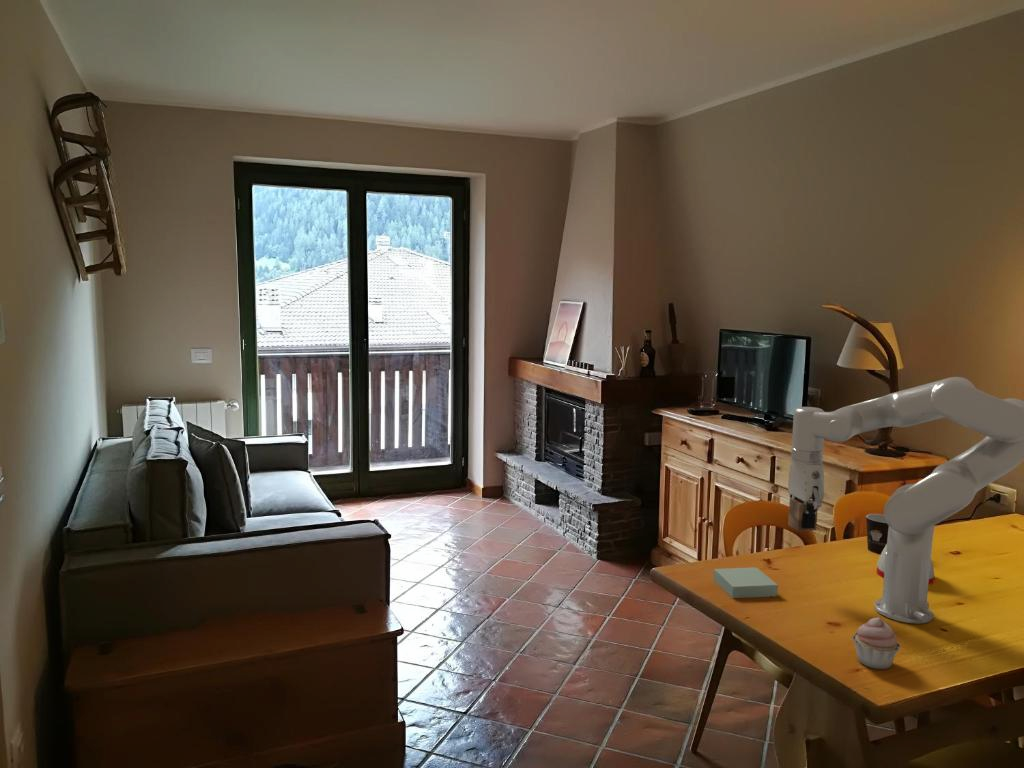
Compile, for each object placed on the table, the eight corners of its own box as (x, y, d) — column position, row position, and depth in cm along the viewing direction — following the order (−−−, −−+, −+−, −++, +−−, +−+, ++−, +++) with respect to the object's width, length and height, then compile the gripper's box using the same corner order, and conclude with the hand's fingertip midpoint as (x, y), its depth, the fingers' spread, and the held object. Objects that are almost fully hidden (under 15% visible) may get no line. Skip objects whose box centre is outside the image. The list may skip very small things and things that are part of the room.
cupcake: (884, 678, 151) (889, 631, 150) (841, 659, 159) (844, 614, 157) (908, 665, 157) (912, 620, 155) (865, 648, 164) (868, 604, 163)
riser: (777, 596, 191) (777, 584, 191) (732, 598, 189) (732, 586, 189) (755, 578, 203) (756, 567, 202) (713, 579, 201) (713, 569, 201)
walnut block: (816, 530, 192) (817, 503, 191) (797, 531, 192) (799, 504, 191) (806, 524, 197) (807, 498, 196) (788, 524, 197) (789, 498, 196)
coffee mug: (857, 547, 229) (859, 515, 228) (880, 544, 231) (882, 513, 230) (886, 560, 218) (889, 527, 217) (910, 557, 220) (913, 524, 219)
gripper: (839, 463, 184) (834, 534, 186) (803, 448, 201) (799, 514, 203) (810, 463, 183) (805, 535, 185) (776, 448, 200) (772, 515, 202)
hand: (802, 523), depth 194 cm, fingers closed on walnut block, 5 cm apart
